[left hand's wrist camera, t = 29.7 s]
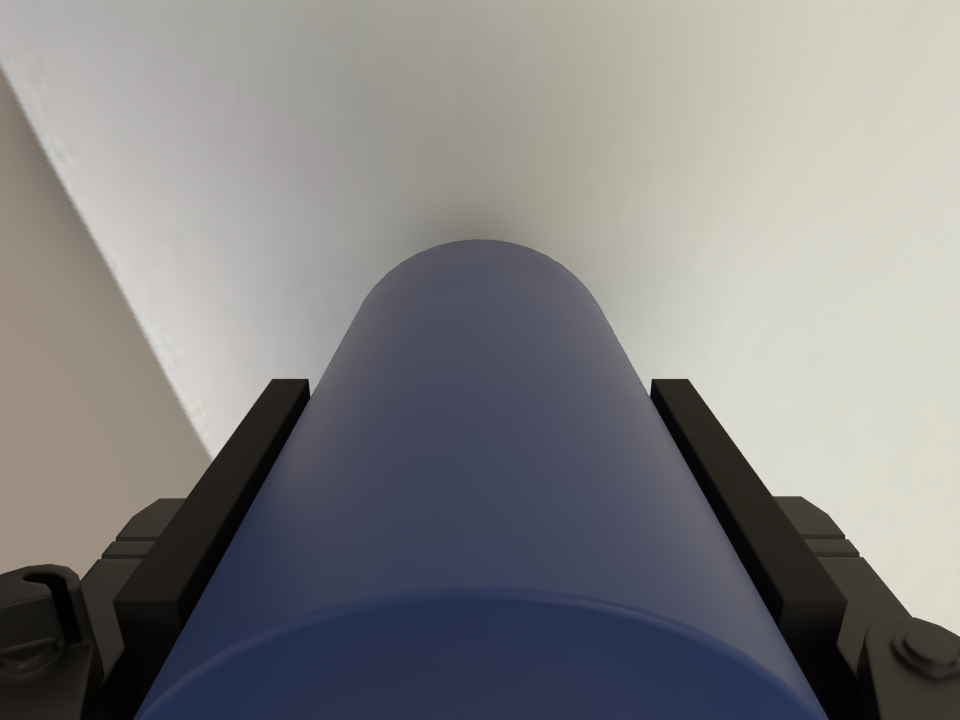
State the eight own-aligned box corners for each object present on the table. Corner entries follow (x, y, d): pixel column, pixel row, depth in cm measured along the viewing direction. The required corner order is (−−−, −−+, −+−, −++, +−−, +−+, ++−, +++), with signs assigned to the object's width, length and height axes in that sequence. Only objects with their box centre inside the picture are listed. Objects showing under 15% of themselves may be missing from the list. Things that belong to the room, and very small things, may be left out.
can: (598, 215, 16) (894, 526, 5) (626, 465, 19) (860, 1064, 7) (314, 266, 17) (-60, 664, 5) (380, 503, 19) (232, 1121, 8)
